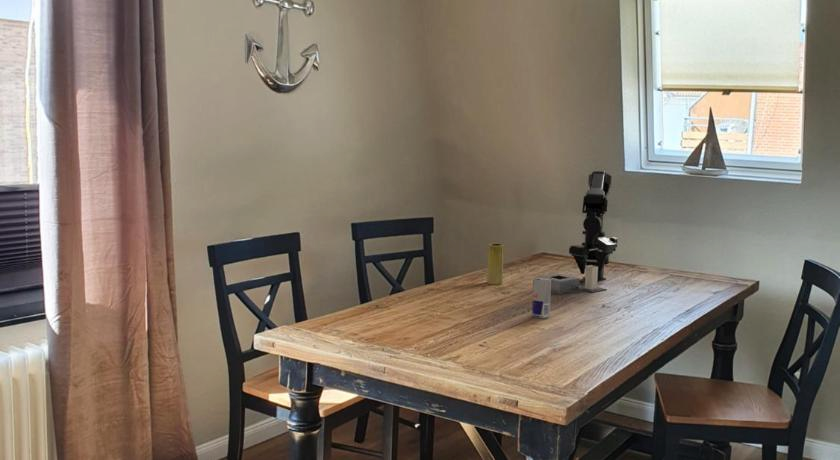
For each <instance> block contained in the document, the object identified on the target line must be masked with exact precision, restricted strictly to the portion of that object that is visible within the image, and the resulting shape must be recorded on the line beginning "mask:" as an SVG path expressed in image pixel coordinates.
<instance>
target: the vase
mask: <svg viewBox="0 0 840 460" xmlns="http://www.w3.org/2000/svg"><path fill="white" fill-rule="evenodd" d="M486 274H487V275H486V276H487V279H486V284H488V285H493V286H498V285H503V284H504V244H503V243H499V242H498V243H496V242H495V243H493V242H492V243H489V244H488V255H487V273H486Z"/></svg>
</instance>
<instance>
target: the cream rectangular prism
mask: <svg viewBox="0 0 840 460" xmlns="http://www.w3.org/2000/svg"><path fill="white" fill-rule="evenodd" d="M584 275H585V276H584V277H585V279H584V280H585V281H584V286H585V288H586V289H590V290H593V289H597V287H598V281H597V277H598V266H593V265H589V266H586V265H585V273H584Z"/></svg>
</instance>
